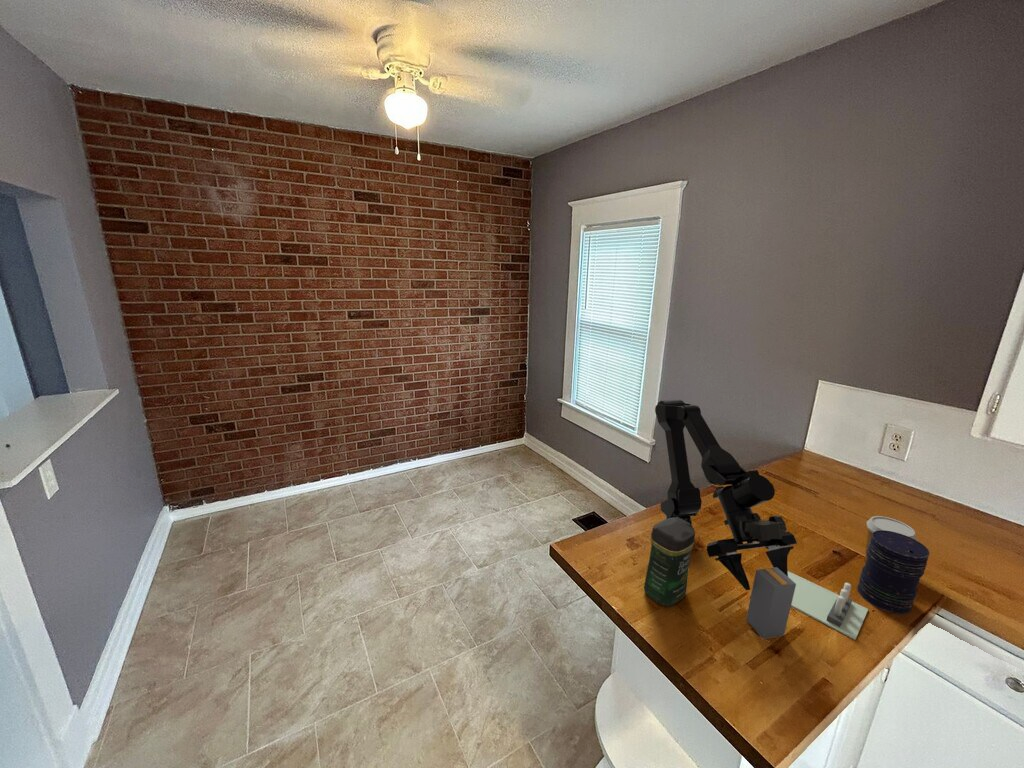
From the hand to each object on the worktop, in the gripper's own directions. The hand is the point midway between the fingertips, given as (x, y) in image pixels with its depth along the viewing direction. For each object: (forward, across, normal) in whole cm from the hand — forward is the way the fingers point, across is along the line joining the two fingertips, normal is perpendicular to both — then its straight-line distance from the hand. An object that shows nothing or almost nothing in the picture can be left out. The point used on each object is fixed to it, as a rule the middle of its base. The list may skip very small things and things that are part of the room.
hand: (767, 587), depth 88 cm
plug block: (+7, 0, +6) cm, 9 cm away
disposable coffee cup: (-1, +45, +14) cm, 47 cm away
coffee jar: (-2, -16, +15) cm, 22 cm away
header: (+4, +17, +9) cm, 20 cm away
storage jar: (+6, +34, +7) cm, 35 cm away
